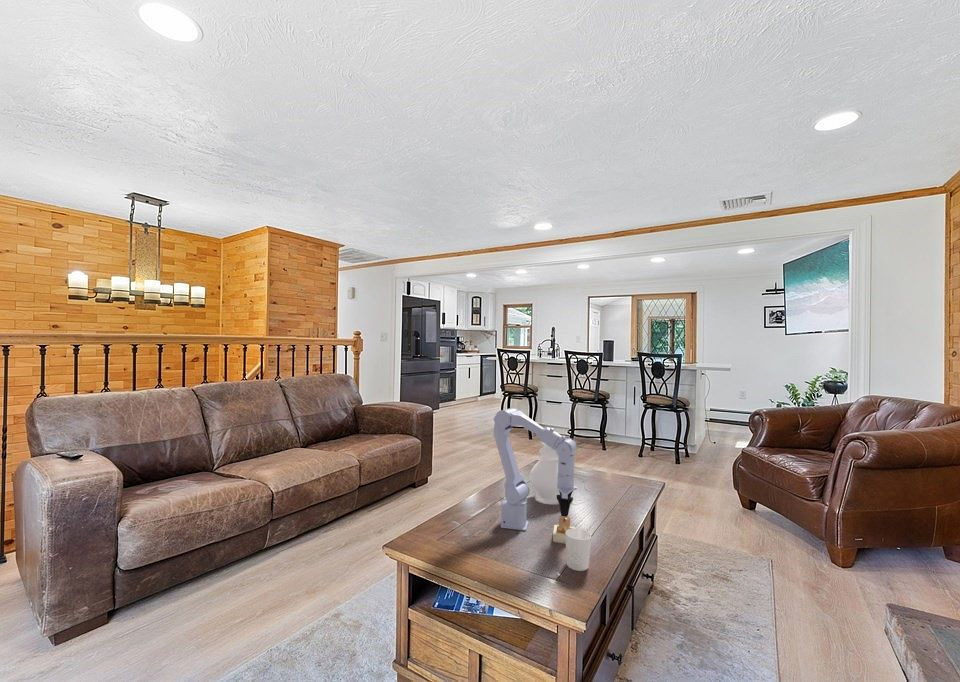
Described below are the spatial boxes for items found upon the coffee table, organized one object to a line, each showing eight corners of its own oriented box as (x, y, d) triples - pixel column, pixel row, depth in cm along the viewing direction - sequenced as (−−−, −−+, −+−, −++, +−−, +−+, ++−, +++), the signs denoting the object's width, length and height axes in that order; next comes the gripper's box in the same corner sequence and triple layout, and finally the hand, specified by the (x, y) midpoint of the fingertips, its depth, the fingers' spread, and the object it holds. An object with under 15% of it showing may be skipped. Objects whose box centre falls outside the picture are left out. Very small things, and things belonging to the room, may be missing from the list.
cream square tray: (552, 542, 150) (553, 533, 150) (554, 532, 157) (554, 524, 157) (574, 544, 148) (575, 536, 148) (575, 535, 155) (575, 527, 155)
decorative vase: (573, 507, 181) (574, 448, 181) (530, 506, 182) (532, 447, 182) (565, 492, 199) (566, 438, 199) (527, 491, 200) (528, 437, 199)
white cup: (586, 559, 139) (587, 528, 139) (593, 572, 131) (594, 539, 131) (562, 559, 138) (563, 528, 138) (568, 572, 130) (568, 539, 130)
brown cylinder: (558, 539, 151) (559, 519, 151) (557, 534, 155) (558, 515, 155) (570, 540, 150) (570, 520, 150) (568, 535, 154) (569, 516, 154)
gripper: (577, 481, 145) (576, 521, 145) (577, 468, 159) (576, 505, 159) (556, 479, 146) (554, 518, 146) (558, 467, 160) (557, 503, 160)
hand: (564, 511), depth 153 cm, fingers open, 7 cm apart
